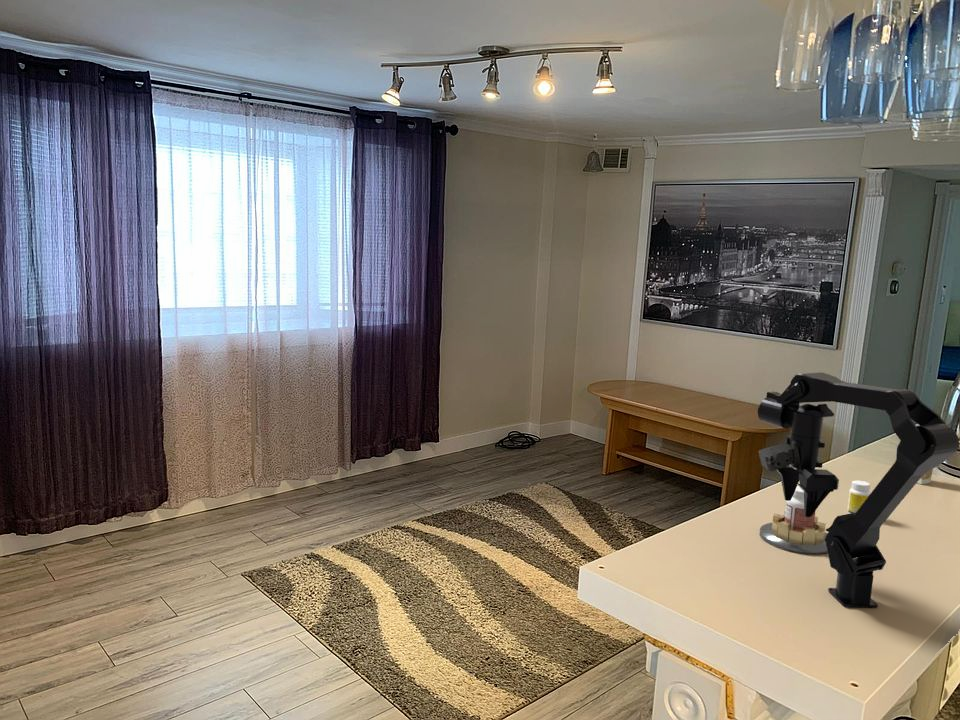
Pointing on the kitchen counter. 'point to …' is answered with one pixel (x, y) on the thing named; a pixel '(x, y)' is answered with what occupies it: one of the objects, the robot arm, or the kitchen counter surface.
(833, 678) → the kitchen counter surface
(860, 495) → the supplement bottle
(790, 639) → the kitchen counter surface
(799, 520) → the pill bottle
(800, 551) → the crown on disc
